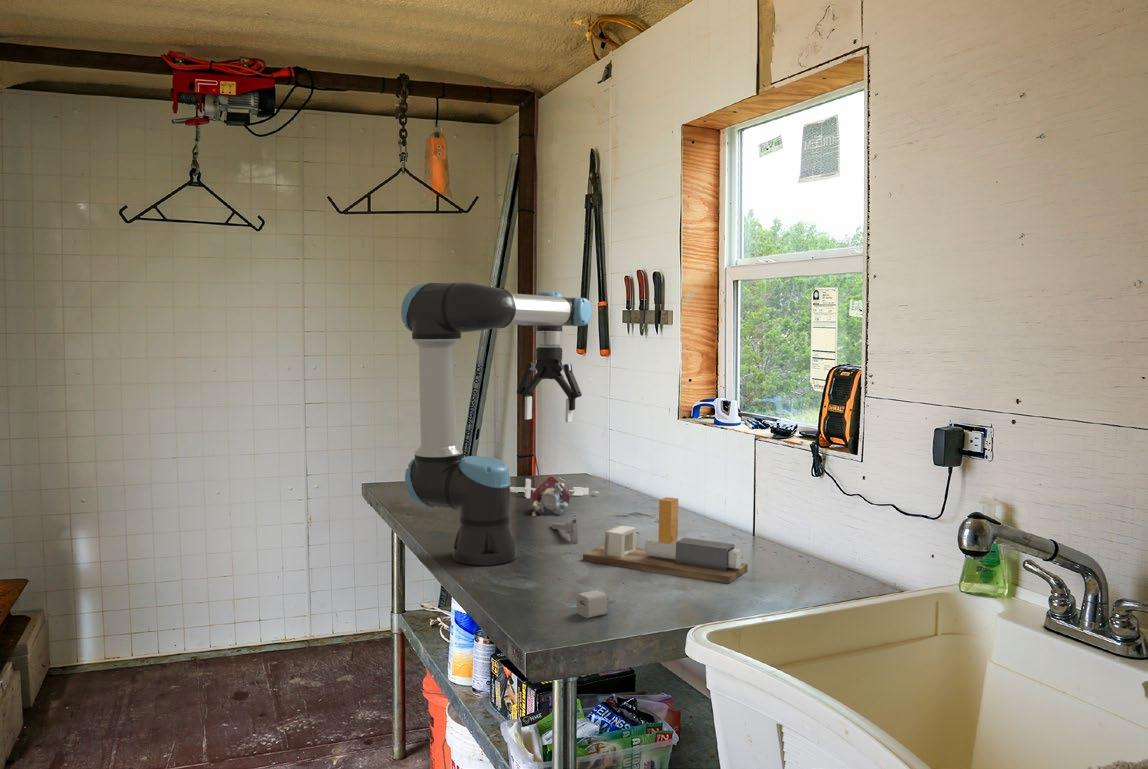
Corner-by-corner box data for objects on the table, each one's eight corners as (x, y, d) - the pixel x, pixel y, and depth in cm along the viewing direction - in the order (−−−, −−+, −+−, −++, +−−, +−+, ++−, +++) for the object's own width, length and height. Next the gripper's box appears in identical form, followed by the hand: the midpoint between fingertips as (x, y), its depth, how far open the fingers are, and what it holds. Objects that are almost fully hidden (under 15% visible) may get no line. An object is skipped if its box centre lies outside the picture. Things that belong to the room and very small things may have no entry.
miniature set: (489, 497, 282) (487, 496, 294) (598, 501, 288) (591, 500, 300) (490, 476, 283) (488, 476, 295) (599, 481, 289) (592, 481, 301)
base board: (729, 583, 192) (729, 576, 192) (582, 560, 210) (582, 554, 210) (747, 570, 203) (747, 564, 203) (606, 549, 220) (606, 543, 220)
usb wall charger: (576, 613, 172) (576, 592, 171) (605, 607, 176) (605, 587, 175) (588, 619, 168) (588, 598, 168) (617, 612, 172) (618, 592, 172)
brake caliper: (572, 500, 270) (570, 473, 262) (569, 529, 261) (566, 501, 253) (535, 499, 271) (531, 472, 263) (530, 527, 263) (526, 500, 255)
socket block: (621, 557, 207) (621, 533, 207) (604, 554, 210) (604, 531, 209) (635, 550, 214) (636, 527, 214) (619, 547, 216) (619, 525, 216)
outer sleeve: (726, 571, 196) (726, 549, 196) (675, 563, 202) (675, 542, 202) (733, 566, 201) (734, 544, 200) (684, 558, 206) (684, 537, 206)
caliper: (577, 544, 226) (578, 520, 226) (573, 545, 226) (574, 520, 226) (553, 527, 246) (553, 504, 245) (549, 527, 245) (550, 504, 245)
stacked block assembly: (735, 568, 196) (737, 509, 195) (644, 555, 206) (645, 498, 206) (741, 564, 199) (743, 505, 198) (651, 551, 210) (652, 495, 209)
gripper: (593, 347, 253) (592, 421, 255) (519, 345, 266) (518, 416, 267) (581, 347, 247) (580, 424, 248) (505, 345, 259) (504, 418, 260)
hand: (548, 420), depth 258 cm, fingers open, 13 cm apart
